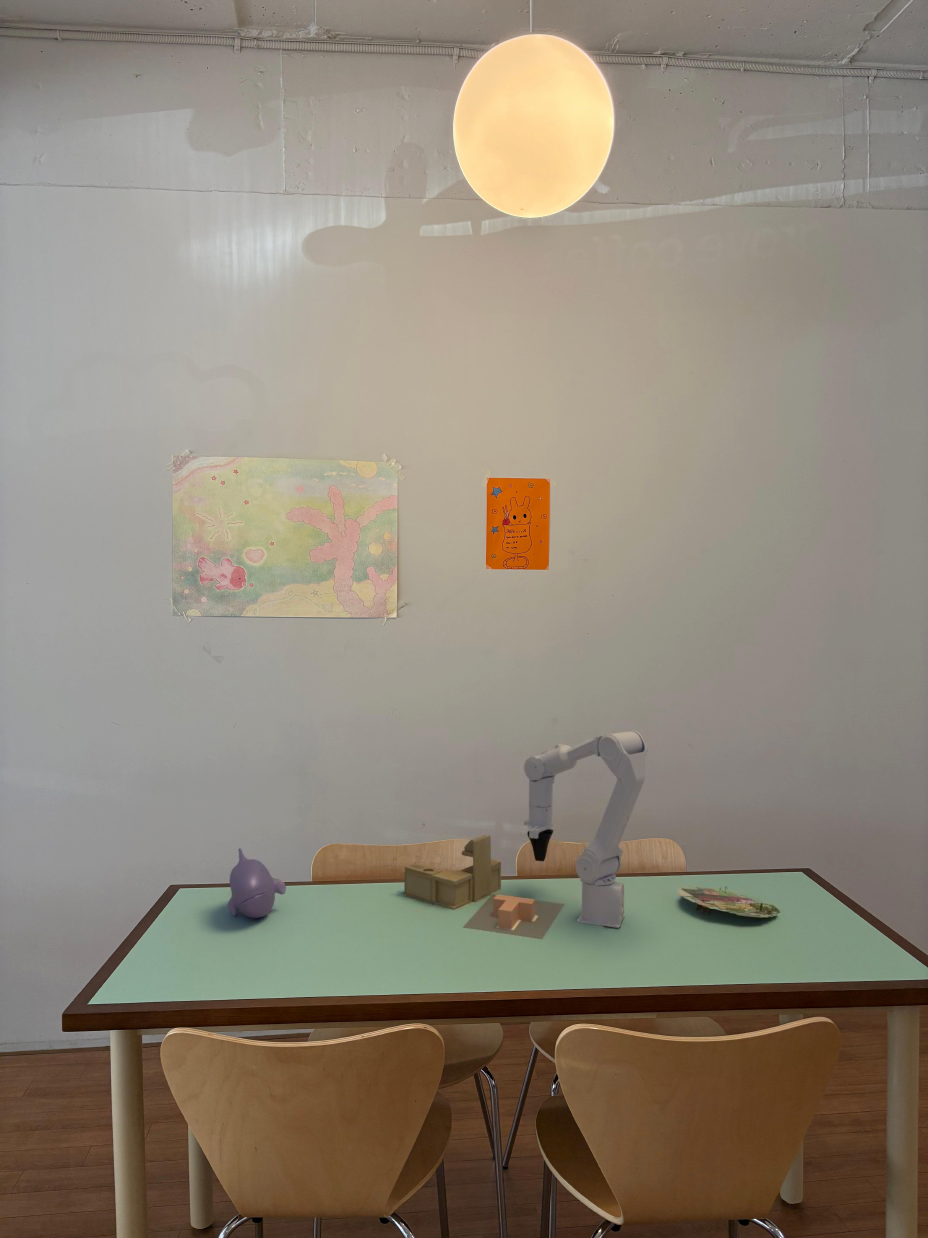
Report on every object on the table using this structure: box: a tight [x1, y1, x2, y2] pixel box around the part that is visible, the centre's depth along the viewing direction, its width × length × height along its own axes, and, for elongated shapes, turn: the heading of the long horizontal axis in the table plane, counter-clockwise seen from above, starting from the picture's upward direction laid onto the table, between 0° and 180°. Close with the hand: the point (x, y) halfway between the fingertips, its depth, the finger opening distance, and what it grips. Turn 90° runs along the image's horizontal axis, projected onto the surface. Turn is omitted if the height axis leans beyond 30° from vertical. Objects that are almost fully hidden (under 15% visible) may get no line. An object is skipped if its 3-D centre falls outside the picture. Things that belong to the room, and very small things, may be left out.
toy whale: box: [227, 847, 287, 919], centre depth 192 cm, size 14×25×16 cm, turn 12°
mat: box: [462, 893, 565, 940], centre depth 190 cm, size 18×22×1 cm
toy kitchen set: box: [403, 834, 502, 911], centre depth 205 cm, size 18×17×15 cm
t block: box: [493, 894, 536, 929], centre depth 187 cm, size 9×9×4 cm
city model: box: [676, 884, 781, 918], centre depth 197 cm, size 25×23×6 cm
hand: (540, 860), depth 202 cm, fingers closed
